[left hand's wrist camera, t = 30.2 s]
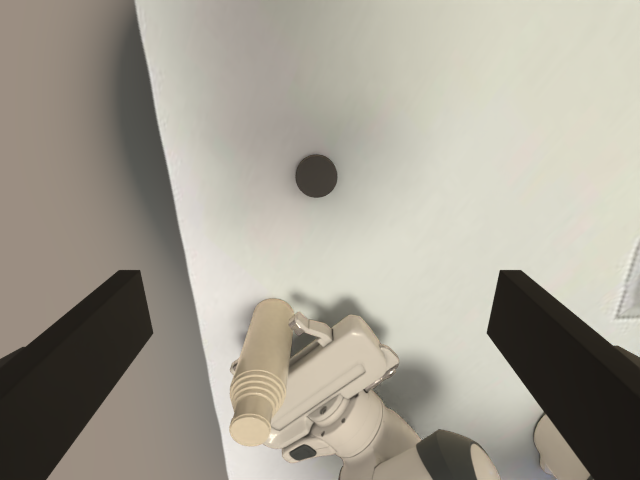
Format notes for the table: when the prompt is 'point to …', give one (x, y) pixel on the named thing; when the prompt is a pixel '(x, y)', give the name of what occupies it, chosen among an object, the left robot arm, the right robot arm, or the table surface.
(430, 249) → the table surface
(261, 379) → the bottle
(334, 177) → the cap
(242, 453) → the table surface
